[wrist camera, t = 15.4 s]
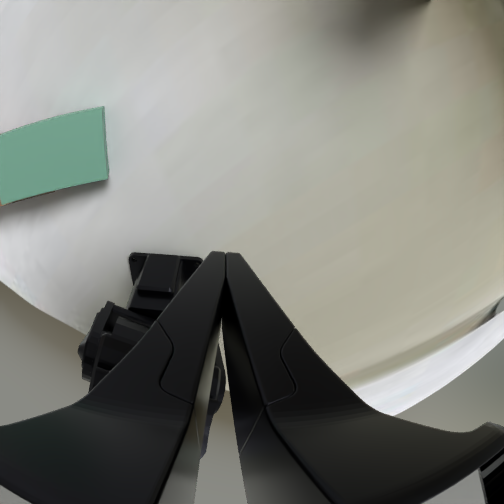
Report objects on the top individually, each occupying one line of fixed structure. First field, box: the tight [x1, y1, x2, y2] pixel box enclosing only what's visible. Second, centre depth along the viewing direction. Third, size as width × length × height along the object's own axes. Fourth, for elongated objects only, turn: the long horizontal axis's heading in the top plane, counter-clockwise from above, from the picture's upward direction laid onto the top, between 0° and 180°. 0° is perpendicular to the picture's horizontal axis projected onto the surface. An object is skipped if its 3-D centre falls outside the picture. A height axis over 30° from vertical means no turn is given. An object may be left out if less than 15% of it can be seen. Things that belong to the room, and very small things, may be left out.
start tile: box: [0, 106, 109, 205], centre depth 14 cm, size 2×5×9 cm
